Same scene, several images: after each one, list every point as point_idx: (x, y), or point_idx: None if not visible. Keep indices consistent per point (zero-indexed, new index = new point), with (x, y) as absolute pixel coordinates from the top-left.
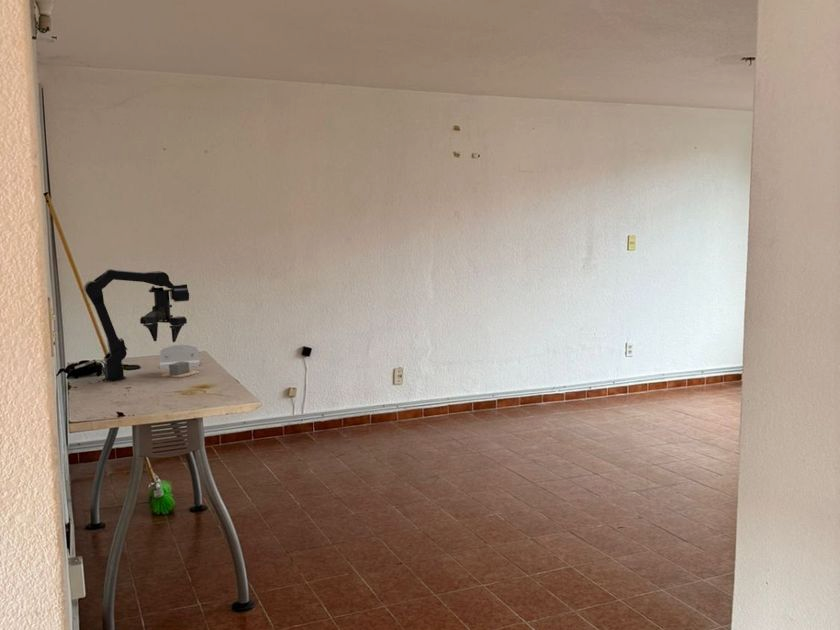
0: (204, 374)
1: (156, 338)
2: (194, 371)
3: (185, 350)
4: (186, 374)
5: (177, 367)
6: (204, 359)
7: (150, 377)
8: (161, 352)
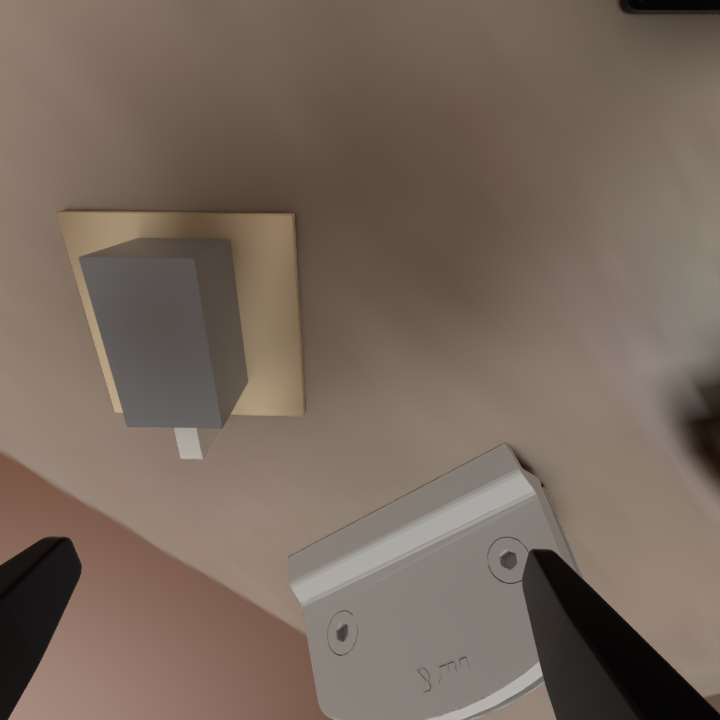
0: (34, 370)
1: (537, 633)
2: None
3: (388, 663)
4: None
5: (94, 253)
6: None
7: (374, 136)
8: None
